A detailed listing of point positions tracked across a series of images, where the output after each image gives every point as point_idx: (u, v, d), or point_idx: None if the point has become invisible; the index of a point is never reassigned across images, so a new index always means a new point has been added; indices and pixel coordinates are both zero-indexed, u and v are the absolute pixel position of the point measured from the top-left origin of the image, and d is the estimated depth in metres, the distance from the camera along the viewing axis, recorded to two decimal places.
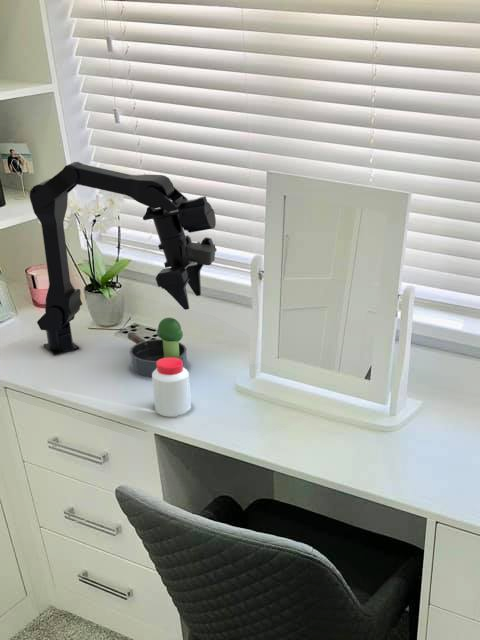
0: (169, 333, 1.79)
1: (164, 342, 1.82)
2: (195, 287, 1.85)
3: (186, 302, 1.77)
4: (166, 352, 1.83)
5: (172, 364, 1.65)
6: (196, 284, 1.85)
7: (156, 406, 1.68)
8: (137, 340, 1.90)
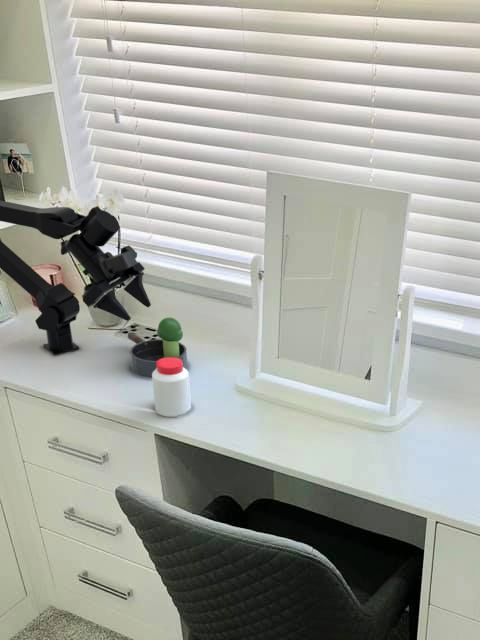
0: (169, 333, 1.79)
1: (164, 342, 1.82)
2: (143, 299, 1.85)
3: (123, 312, 1.76)
4: (166, 352, 1.83)
5: (172, 364, 1.65)
6: (142, 296, 1.84)
7: (156, 406, 1.68)
8: (137, 340, 1.90)
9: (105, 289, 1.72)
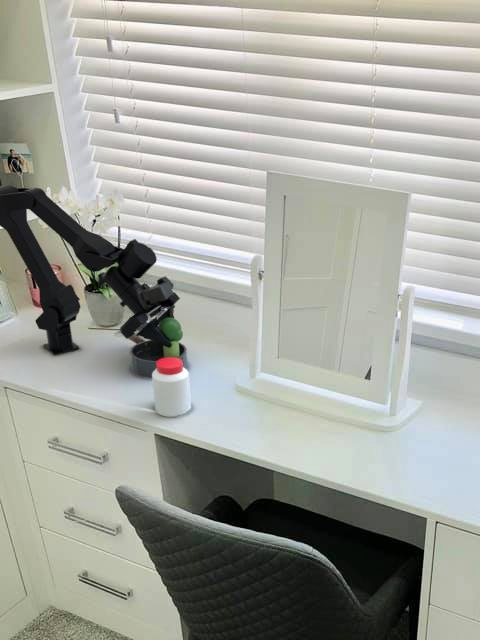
0: (169, 333, 1.79)
1: None
2: None
3: (165, 340, 1.79)
4: (166, 352, 1.83)
5: (172, 364, 1.65)
6: None
7: (156, 406, 1.68)
8: (137, 340, 1.90)
9: (143, 321, 1.73)
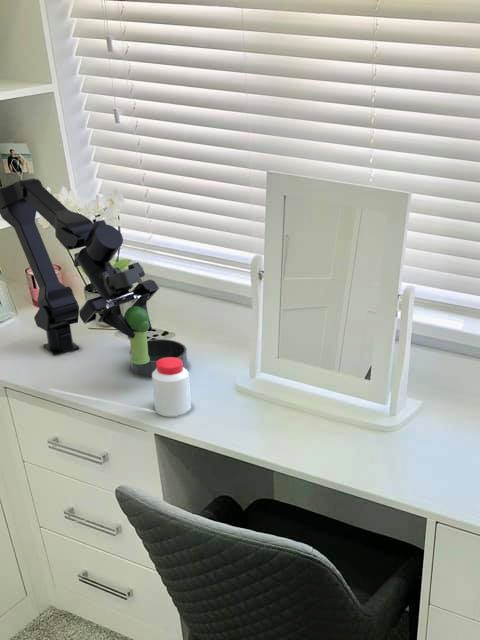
0: (132, 323, 1.67)
1: None
2: None
3: (128, 329, 1.68)
4: (131, 342, 1.71)
5: (172, 364, 1.65)
6: None
7: (156, 406, 1.68)
8: None
9: (99, 306, 1.62)
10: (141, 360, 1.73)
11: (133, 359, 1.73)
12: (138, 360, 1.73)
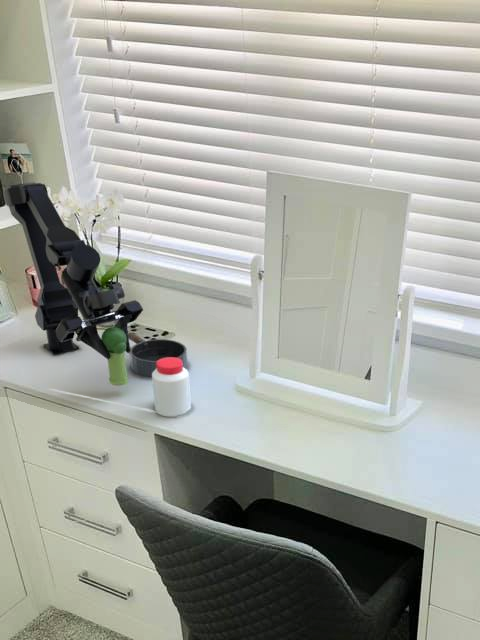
0: (108, 344, 1.65)
1: None
2: None
3: (103, 350, 1.66)
4: (108, 363, 1.69)
5: (172, 364, 1.65)
6: None
7: (156, 406, 1.68)
8: (137, 340, 1.90)
9: (73, 326, 1.61)
10: (118, 381, 1.71)
11: (110, 380, 1.71)
12: (115, 381, 1.71)
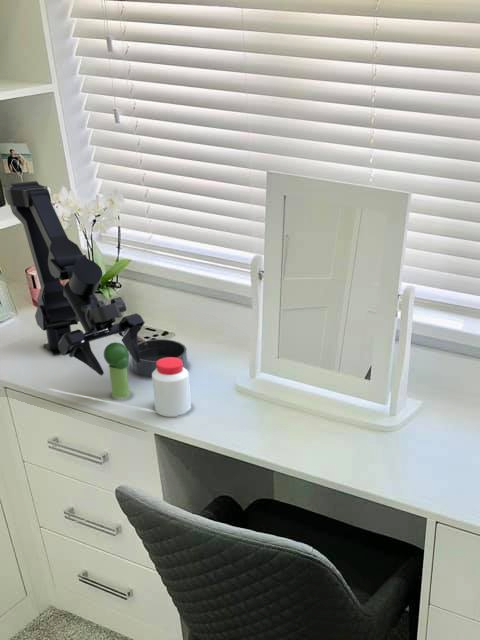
0: (110, 359, 1.67)
1: (109, 367, 1.70)
2: (133, 354, 1.73)
3: (96, 366, 1.66)
4: None
5: (172, 364, 1.65)
6: (133, 351, 1.73)
7: (156, 406, 1.68)
8: (137, 340, 1.90)
9: (75, 340, 1.62)
10: (120, 395, 1.73)
11: (113, 394, 1.73)
12: (117, 396, 1.73)
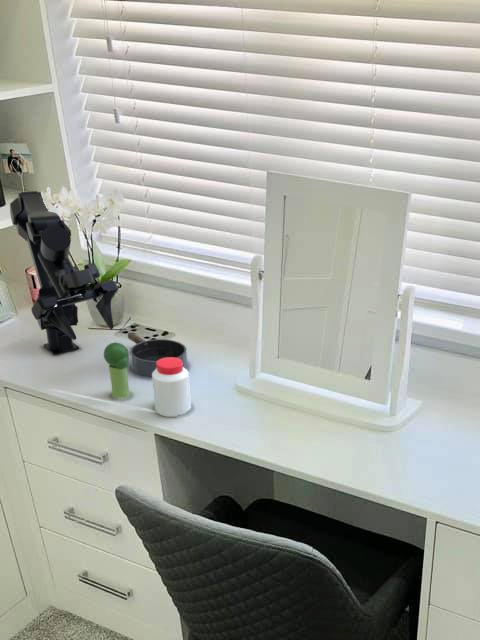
0: (110, 359, 1.67)
1: (109, 367, 1.70)
2: (107, 320, 1.75)
3: (69, 331, 1.68)
4: None
5: (172, 364, 1.65)
6: (106, 317, 1.75)
7: (156, 406, 1.68)
8: (137, 340, 1.90)
9: (48, 304, 1.65)
10: (120, 395, 1.73)
11: (113, 394, 1.73)
12: (117, 396, 1.73)
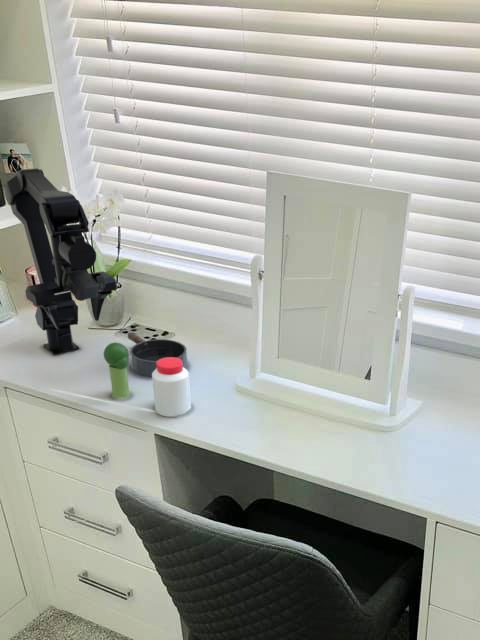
0: (110, 359, 1.67)
1: (109, 367, 1.70)
2: (94, 311, 1.78)
3: (55, 323, 1.72)
4: None
5: (172, 364, 1.65)
6: (95, 309, 1.77)
7: (156, 406, 1.68)
8: (137, 340, 1.90)
9: (44, 303, 1.66)
10: (120, 395, 1.73)
11: (113, 394, 1.73)
12: (117, 396, 1.73)
